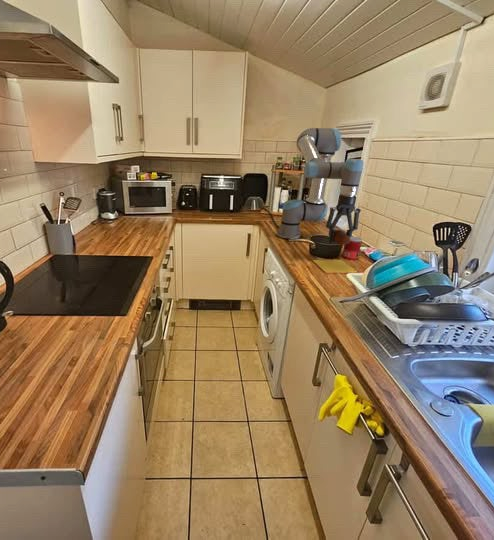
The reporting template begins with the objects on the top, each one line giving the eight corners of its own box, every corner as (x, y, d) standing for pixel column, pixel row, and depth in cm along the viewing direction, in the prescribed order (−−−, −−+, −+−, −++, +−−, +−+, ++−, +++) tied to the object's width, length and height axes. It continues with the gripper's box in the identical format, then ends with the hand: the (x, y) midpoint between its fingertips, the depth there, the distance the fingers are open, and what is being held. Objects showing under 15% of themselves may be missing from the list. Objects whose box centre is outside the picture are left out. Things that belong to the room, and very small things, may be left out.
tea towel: (312, 260, 158) (312, 259, 157) (341, 260, 159) (341, 259, 159) (325, 272, 143) (325, 272, 143) (357, 272, 144) (357, 271, 144)
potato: (343, 247, 140) (346, 234, 138) (324, 241, 149) (326, 228, 147) (352, 246, 143) (355, 232, 140) (333, 239, 152) (335, 227, 150)
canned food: (359, 260, 159) (363, 240, 155) (343, 259, 161) (347, 239, 156) (356, 255, 166) (360, 236, 162) (340, 254, 168) (344, 235, 163)
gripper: (328, 195, 134) (320, 244, 143) (373, 197, 133) (362, 246, 142) (323, 193, 141) (316, 239, 150) (366, 194, 140) (355, 241, 149)
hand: (338, 242), depth 146 cm, fingers closed on potato, 7 cm apart
